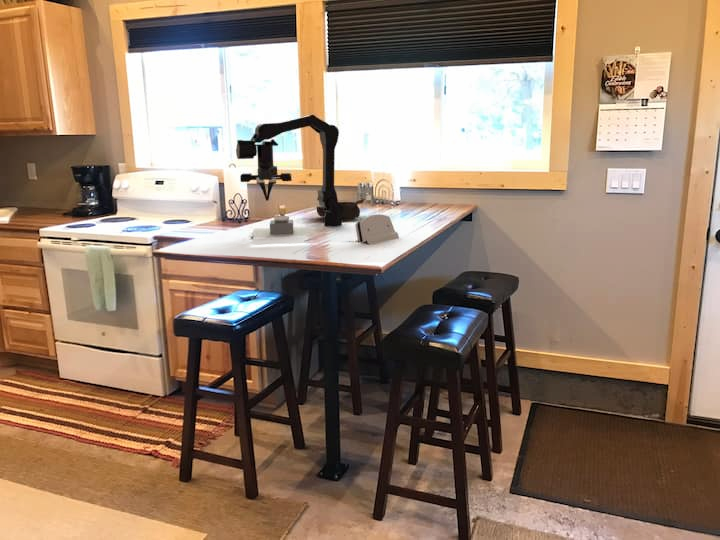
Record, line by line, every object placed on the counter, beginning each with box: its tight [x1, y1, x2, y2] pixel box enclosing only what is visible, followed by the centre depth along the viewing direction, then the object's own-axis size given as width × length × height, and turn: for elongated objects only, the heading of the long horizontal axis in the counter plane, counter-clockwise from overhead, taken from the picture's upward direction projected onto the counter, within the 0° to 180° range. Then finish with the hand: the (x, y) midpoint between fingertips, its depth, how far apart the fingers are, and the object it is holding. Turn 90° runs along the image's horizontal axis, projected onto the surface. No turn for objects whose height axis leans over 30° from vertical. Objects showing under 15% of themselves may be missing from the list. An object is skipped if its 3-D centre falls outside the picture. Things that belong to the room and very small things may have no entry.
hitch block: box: [250, 210, 318, 240], centre depth 224 cm, size 24×17×8 cm
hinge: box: [354, 213, 400, 245], centre depth 210 cm, size 17×5×10 cm, turn 137°
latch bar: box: [277, 203, 287, 214], centre depth 225 cm, size 12×3×2 cm, turn 10°
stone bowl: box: [309, 197, 366, 222], centre depth 260 cm, size 25×25×9 cm
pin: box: [273, 213, 290, 223], centre depth 222 cm, size 6×6×6 cm
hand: (267, 200), depth 225 cm, fingers closed
